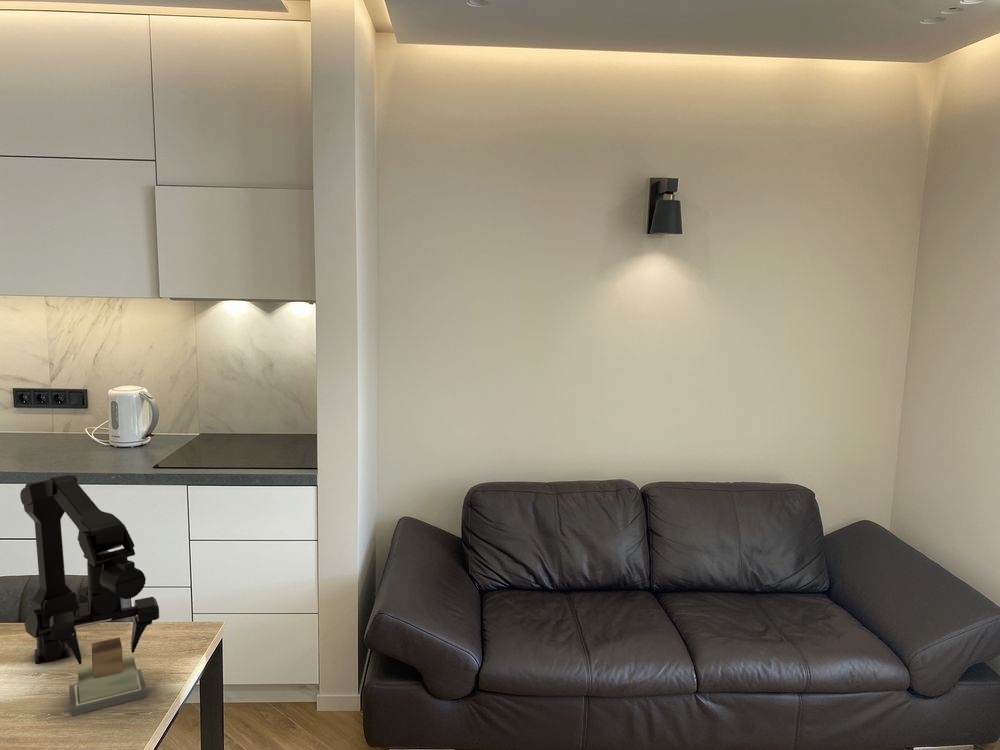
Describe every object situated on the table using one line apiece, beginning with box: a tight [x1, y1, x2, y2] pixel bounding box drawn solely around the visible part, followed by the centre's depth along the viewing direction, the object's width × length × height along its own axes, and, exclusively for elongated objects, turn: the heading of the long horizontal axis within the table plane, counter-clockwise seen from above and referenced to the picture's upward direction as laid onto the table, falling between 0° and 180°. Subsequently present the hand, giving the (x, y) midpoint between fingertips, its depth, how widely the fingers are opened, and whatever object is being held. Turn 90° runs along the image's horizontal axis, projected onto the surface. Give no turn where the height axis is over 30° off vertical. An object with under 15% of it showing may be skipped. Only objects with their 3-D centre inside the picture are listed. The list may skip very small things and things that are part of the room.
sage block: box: [77, 655, 138, 703], centre depth 143 cm, size 6×10×4 cm, turn 123°
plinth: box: [68, 668, 148, 717], centre depth 143 cm, size 9×13×2 cm
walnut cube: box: [91, 637, 123, 679], centre depth 142 cm, size 5×5×5 cm
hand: (106, 657), depth 142 cm, fingers open, 9 cm apart
